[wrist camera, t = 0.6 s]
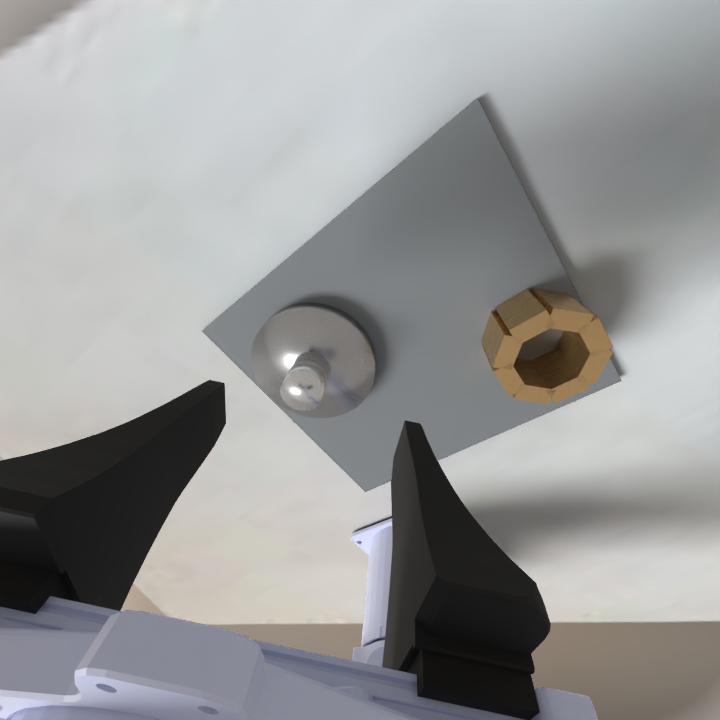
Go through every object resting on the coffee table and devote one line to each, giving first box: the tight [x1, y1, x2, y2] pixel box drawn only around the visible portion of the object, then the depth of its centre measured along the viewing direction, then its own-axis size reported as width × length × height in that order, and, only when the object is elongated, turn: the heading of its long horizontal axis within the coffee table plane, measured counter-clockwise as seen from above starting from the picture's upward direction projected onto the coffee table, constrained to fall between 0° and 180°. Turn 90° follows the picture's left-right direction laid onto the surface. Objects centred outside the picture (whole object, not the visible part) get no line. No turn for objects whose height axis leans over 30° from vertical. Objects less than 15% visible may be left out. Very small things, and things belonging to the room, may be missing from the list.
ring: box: [481, 287, 613, 405], centre depth 19 cm, size 5×5×3 cm
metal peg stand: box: [251, 302, 376, 418], centre depth 22 cm, size 8×8×4 cm
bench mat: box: [202, 98, 621, 492], centre depth 23 cm, size 18×20×1 cm
